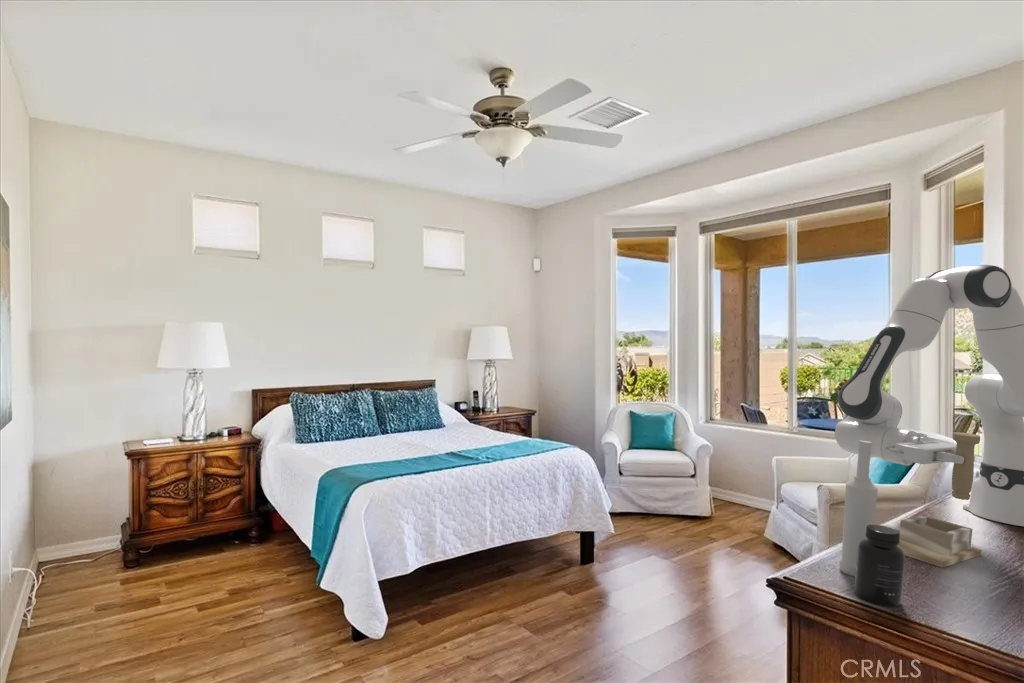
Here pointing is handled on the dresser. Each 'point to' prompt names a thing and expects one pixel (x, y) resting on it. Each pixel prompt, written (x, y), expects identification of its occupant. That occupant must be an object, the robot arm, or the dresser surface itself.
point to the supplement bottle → (880, 567)
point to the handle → (964, 465)
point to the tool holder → (936, 541)
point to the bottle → (858, 509)
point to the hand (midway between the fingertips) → (968, 459)
